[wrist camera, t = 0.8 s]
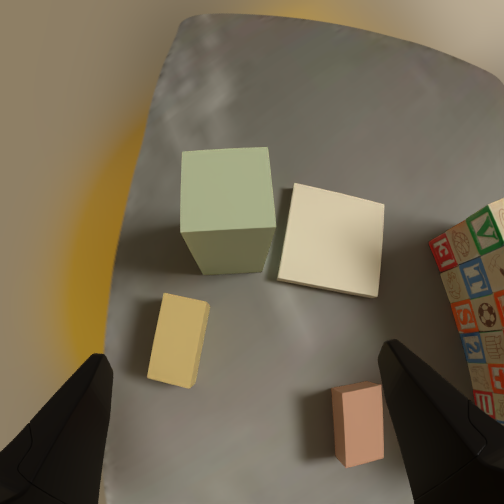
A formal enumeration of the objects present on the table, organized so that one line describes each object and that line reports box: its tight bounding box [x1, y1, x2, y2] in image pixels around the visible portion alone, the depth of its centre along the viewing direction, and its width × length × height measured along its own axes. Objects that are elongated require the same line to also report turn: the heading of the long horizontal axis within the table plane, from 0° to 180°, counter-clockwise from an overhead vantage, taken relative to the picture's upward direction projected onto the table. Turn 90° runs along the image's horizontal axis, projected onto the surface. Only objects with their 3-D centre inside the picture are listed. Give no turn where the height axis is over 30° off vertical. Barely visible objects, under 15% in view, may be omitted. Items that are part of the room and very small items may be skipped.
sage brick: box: [180, 147, 276, 275], centre depth 20 cm, size 4×4×10 cm
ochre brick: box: [147, 293, 210, 389], centre depth 22 cm, size 6×3×3 cm, turn 170°
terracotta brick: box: [331, 381, 384, 468], centre depth 20 cm, size 6×3×3 cm, turn 5°
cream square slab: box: [277, 183, 384, 298], centre depth 25 cm, size 8×8×2 cm
